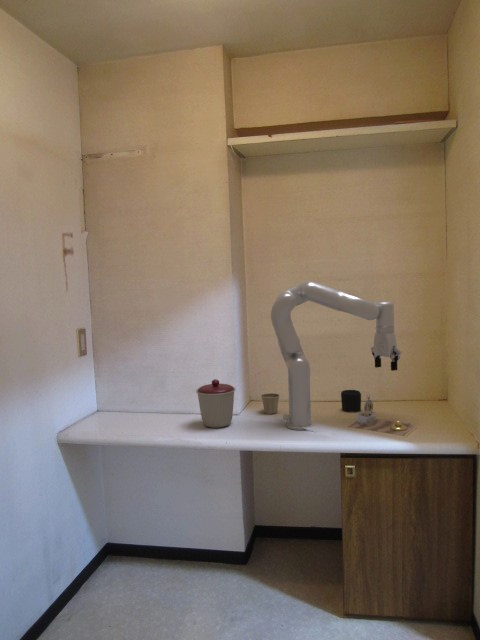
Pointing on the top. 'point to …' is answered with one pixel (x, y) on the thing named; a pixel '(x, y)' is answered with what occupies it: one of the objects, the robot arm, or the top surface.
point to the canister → (216, 404)
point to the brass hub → (398, 426)
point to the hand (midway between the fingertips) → (385, 368)
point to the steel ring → (366, 419)
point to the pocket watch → (368, 405)
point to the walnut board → (384, 427)
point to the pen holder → (351, 401)
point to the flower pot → (270, 402)
